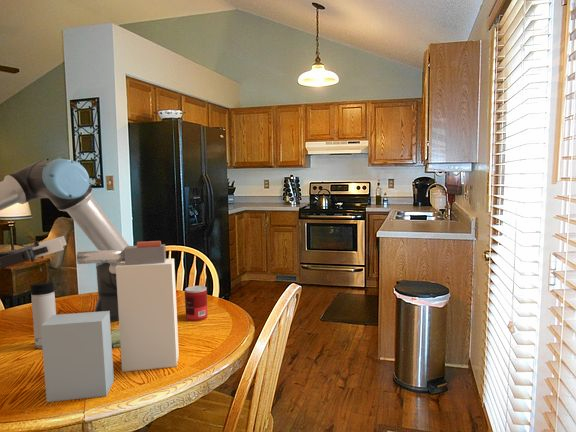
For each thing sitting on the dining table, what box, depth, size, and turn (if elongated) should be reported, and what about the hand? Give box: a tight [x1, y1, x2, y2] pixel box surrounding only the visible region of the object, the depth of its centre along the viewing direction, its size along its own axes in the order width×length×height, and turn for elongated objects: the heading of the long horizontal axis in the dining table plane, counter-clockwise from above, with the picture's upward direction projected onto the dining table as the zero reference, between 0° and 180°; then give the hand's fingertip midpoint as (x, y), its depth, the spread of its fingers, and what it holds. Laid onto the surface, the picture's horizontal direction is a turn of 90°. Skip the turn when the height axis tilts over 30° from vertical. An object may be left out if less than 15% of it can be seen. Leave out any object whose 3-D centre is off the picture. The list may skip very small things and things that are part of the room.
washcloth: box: [111, 328, 121, 349], centre depth 140 cm, size 13×18×3 cm
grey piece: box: [76, 240, 167, 265], centre depth 117 cm, size 4×22×6 cm, turn 100°
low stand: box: [41, 311, 115, 403], centre depth 105 cm, size 8×13×18 cm, turn 100°
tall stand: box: [116, 257, 180, 372], centre depth 120 cm, size 8×14×28 cm, turn 100°
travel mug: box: [30, 281, 57, 350], centre depth 135 cm, size 6×7×20 cm
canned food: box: [184, 285, 209, 322], centre depth 159 cm, size 8×8×11 cm
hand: (63, 242), depth 120 cm, fingers open, 13 cm apart
